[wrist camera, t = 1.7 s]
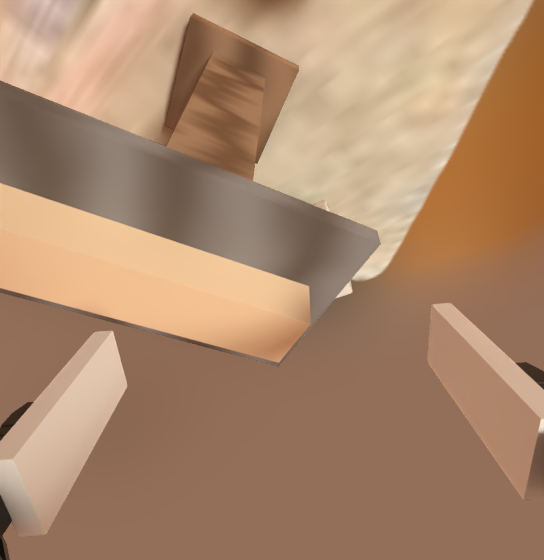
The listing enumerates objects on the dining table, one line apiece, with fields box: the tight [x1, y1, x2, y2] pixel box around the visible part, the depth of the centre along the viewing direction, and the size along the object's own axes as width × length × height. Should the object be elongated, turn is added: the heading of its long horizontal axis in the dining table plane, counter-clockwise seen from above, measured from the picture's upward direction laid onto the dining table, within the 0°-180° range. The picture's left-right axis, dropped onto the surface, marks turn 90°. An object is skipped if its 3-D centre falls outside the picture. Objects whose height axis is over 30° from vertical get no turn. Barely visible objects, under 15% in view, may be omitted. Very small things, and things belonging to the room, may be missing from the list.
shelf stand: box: [0, 13, 381, 366], centre depth 33 cm, size 24×14×30 cm, turn 66°
